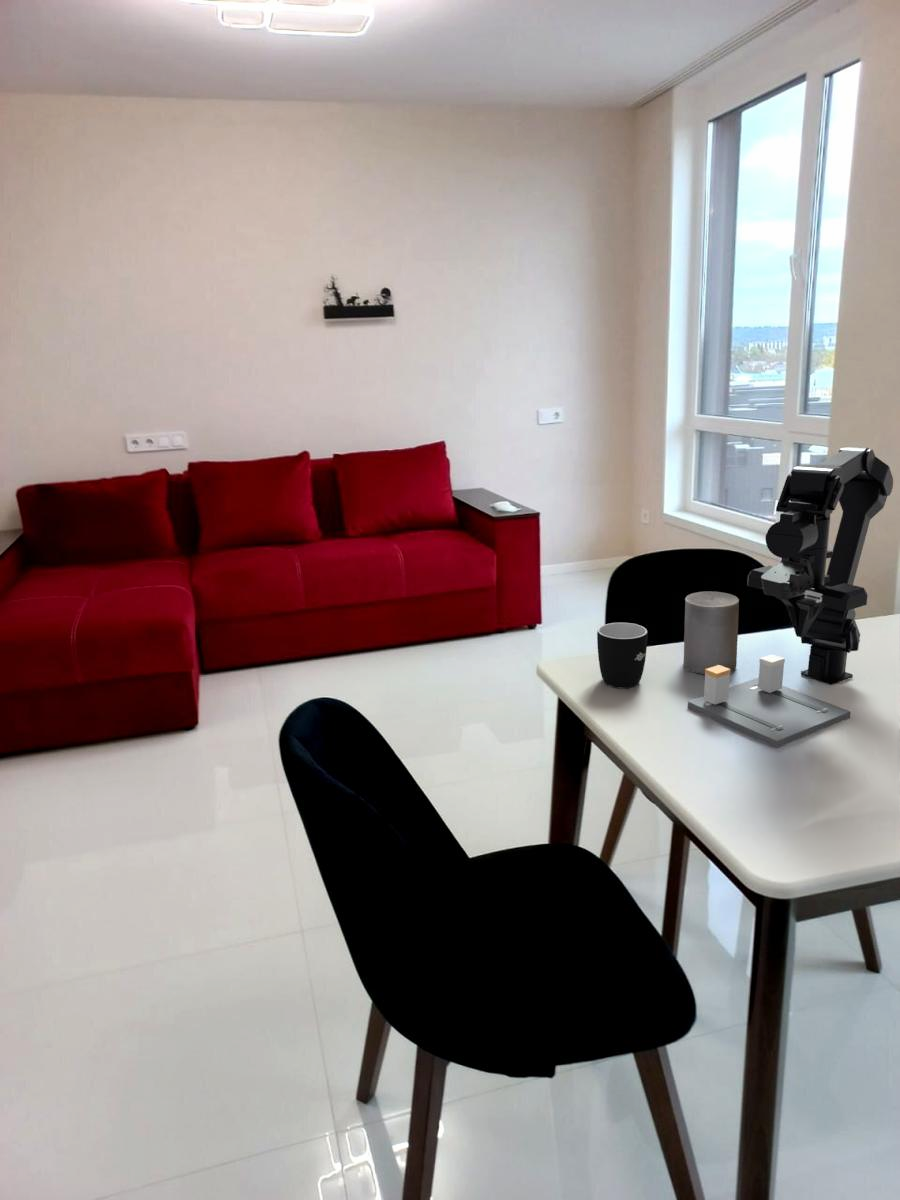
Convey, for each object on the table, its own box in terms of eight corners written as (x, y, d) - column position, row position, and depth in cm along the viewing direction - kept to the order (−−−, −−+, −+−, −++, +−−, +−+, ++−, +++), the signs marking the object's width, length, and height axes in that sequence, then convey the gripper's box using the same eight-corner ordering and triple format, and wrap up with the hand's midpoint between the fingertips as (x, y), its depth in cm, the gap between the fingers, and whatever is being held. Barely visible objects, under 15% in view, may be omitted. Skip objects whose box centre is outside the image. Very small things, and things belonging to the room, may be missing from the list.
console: (759, 683, 148) (759, 676, 147) (850, 718, 133) (851, 710, 132) (687, 707, 139) (688, 700, 139) (776, 748, 124) (776, 740, 124)
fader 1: (717, 695, 140) (718, 664, 138) (728, 700, 138) (730, 669, 136) (703, 699, 138) (705, 669, 136) (715, 704, 136) (716, 673, 134)
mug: (638, 694, 145) (639, 641, 142) (590, 687, 149) (590, 635, 147) (655, 670, 155) (657, 620, 152) (610, 664, 160) (610, 615, 157)
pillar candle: (721, 655, 162) (724, 582, 157) (745, 673, 152) (749, 596, 148) (674, 660, 160) (676, 587, 156) (695, 678, 151) (698, 601, 147)
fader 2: (770, 683, 143) (772, 654, 142) (782, 688, 141) (784, 658, 140) (757, 688, 142) (759, 658, 140) (769, 693, 140) (771, 662, 138)
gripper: (727, 542, 135) (722, 631, 140) (827, 564, 120) (818, 663, 124) (772, 533, 140) (766, 618, 145) (874, 552, 125) (863, 648, 129)
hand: (800, 636), depth 136 cm, fingers closed
